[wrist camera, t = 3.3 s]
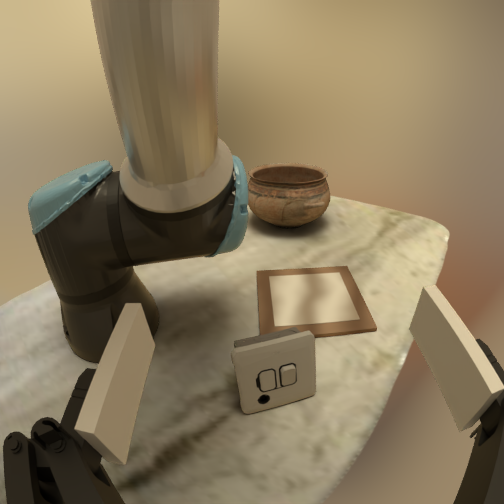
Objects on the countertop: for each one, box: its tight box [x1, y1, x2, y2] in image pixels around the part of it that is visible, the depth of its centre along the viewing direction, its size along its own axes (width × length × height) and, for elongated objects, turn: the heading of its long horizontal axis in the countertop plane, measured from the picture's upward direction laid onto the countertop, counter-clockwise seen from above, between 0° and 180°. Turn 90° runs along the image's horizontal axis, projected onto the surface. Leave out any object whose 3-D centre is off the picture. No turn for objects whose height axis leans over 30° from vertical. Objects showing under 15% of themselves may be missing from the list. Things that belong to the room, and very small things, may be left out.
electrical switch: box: [231, 327, 316, 414], centre depth 30 cm, size 8×5×8 cm, turn 106°
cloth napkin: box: [257, 266, 377, 339], centre depth 45 cm, size 16×16×1 cm
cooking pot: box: [248, 163, 330, 228], centre depth 67 cm, size 25×19×12 cm
